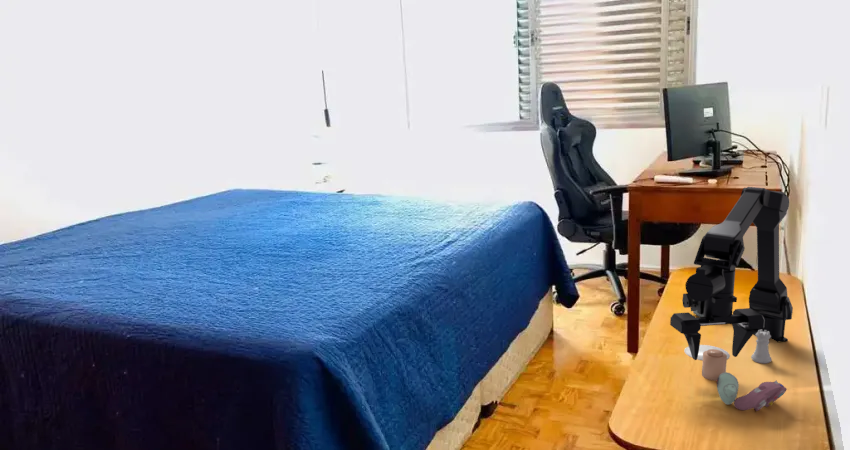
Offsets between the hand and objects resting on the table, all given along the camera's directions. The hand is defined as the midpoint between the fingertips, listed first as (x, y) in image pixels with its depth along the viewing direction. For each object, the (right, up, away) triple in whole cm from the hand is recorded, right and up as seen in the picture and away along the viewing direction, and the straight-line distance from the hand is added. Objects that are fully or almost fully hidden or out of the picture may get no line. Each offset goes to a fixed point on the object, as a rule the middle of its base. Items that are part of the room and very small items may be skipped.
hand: (714, 357), depth 147 cm
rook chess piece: (+14, -3, +9) cm, 17 cm away
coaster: (+4, -2, +13) cm, 14 cm away
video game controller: (+4, -8, -11) cm, 14 cm away
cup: (0, -5, +1) cm, 5 cm away
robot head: (-2, -8, -9) cm, 12 cm away
